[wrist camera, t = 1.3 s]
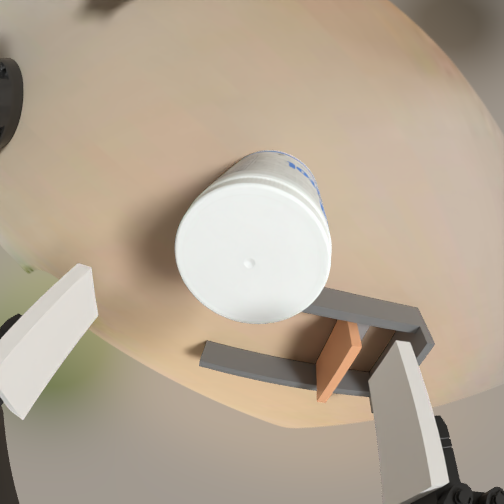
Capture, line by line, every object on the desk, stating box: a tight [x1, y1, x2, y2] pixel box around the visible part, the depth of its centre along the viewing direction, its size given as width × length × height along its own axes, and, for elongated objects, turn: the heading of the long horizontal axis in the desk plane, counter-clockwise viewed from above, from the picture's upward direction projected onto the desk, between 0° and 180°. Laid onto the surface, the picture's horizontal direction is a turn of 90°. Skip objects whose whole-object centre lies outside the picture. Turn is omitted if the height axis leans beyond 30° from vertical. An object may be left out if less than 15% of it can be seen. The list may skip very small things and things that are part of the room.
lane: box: [199, 287, 435, 413], centre depth 34 cm, size 26×14×7 cm, turn 78°
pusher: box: [316, 320, 369, 403], centre depth 34 cm, size 4×11×7 cm, turn 168°
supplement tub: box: [175, 150, 332, 324], centre depth 23 cm, size 10×10×15 cm
